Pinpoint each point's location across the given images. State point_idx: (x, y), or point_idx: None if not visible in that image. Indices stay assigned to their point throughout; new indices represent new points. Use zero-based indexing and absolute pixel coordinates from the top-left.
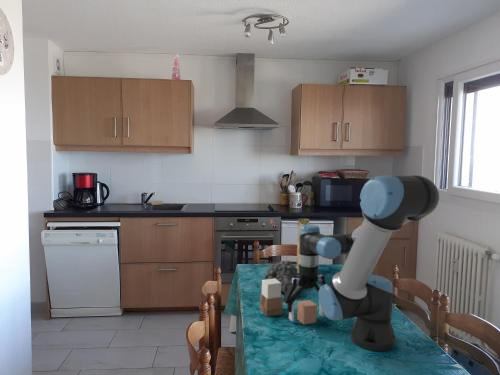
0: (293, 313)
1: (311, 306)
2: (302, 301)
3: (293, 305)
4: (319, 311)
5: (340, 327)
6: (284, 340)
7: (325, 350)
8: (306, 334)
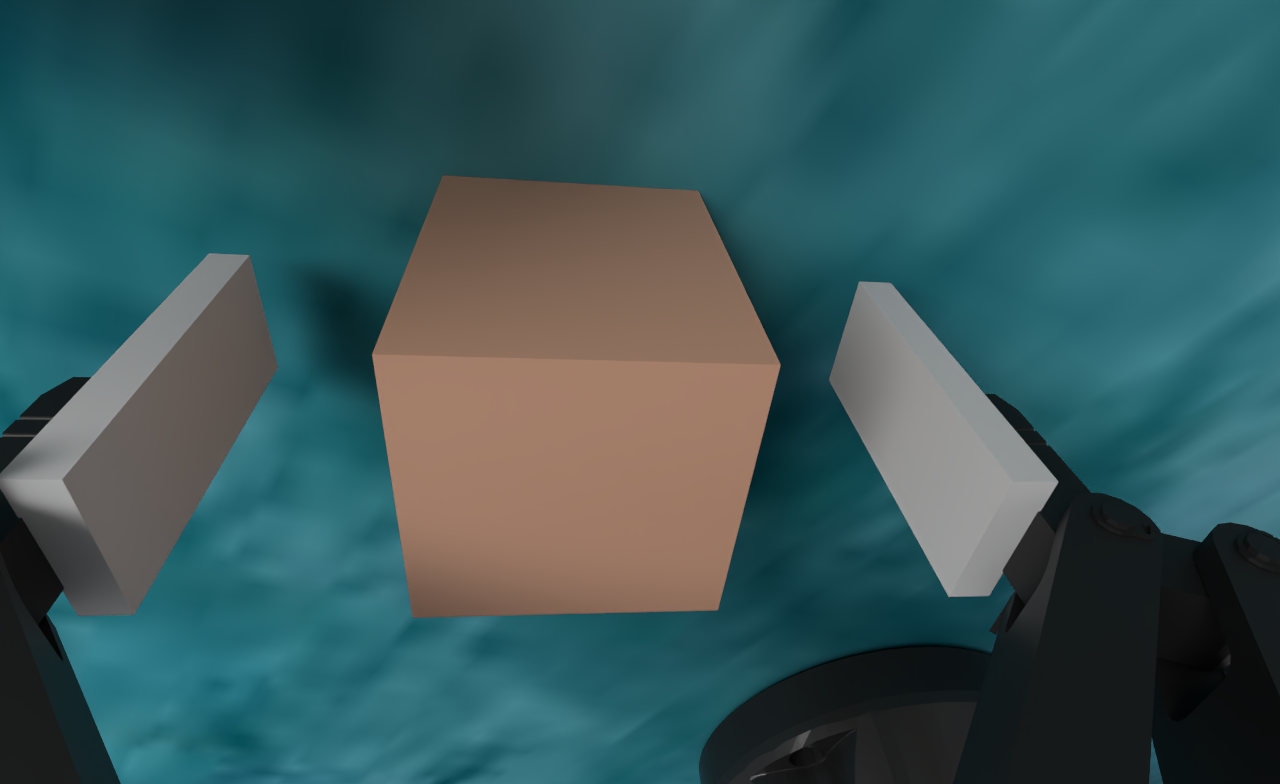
0: (213, 455)
1: (587, 602)
2: (524, 382)
3: (120, 595)
4: (873, 315)
5: (836, 556)
6: (50, 616)
7: (417, 768)
8: (369, 580)
